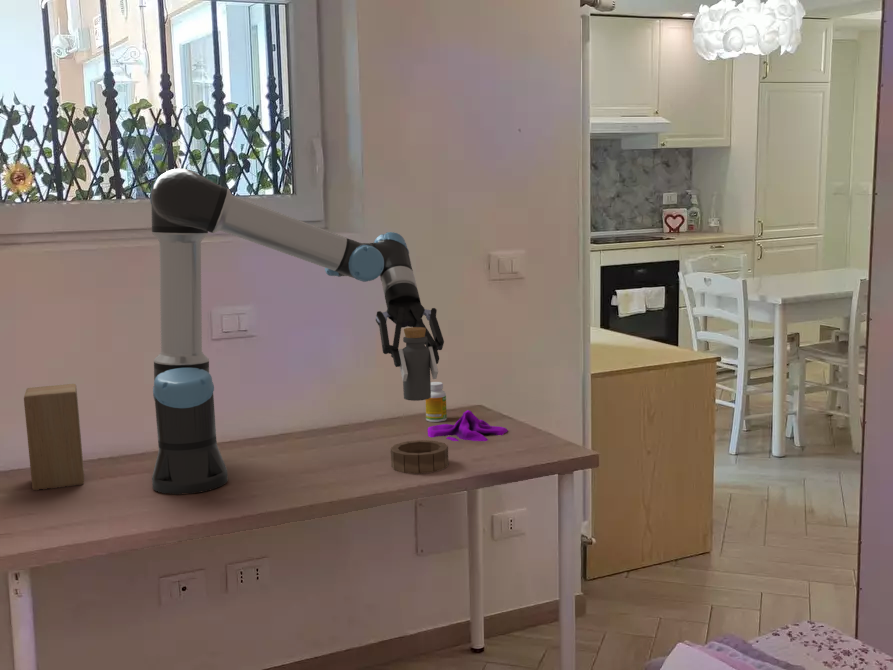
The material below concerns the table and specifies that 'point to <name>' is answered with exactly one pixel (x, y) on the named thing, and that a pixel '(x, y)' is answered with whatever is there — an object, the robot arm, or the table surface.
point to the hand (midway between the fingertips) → (420, 376)
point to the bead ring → (419, 456)
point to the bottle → (416, 365)
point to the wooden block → (54, 436)
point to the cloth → (466, 429)
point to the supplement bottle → (436, 403)
